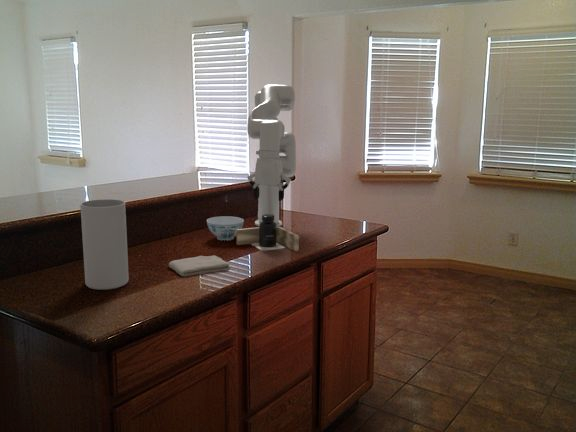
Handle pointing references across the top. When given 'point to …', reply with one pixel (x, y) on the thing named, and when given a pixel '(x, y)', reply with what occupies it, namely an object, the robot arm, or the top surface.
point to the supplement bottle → (267, 231)
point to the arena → (282, 237)
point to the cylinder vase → (104, 243)
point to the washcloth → (198, 265)
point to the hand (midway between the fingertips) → (268, 199)
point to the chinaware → (225, 226)
